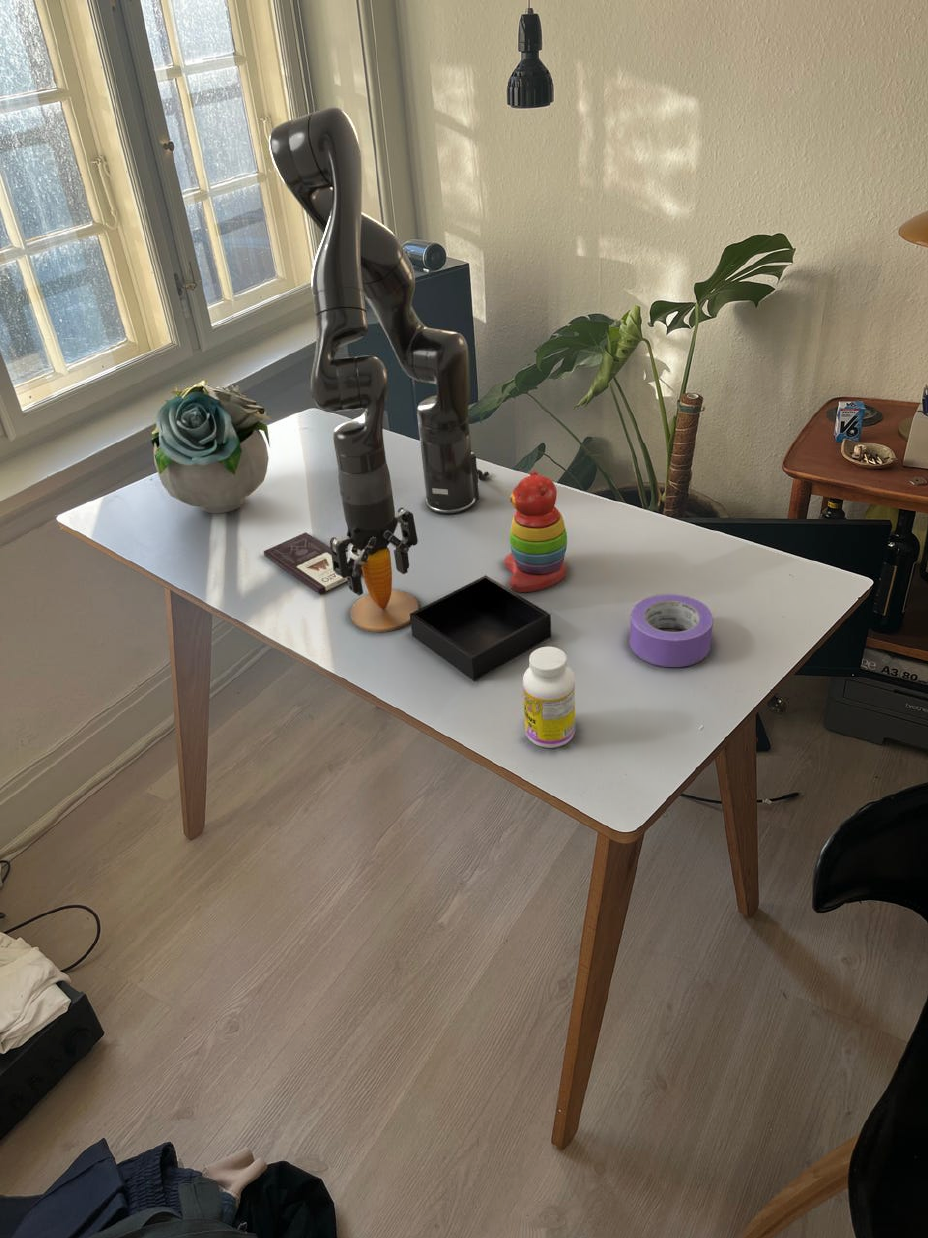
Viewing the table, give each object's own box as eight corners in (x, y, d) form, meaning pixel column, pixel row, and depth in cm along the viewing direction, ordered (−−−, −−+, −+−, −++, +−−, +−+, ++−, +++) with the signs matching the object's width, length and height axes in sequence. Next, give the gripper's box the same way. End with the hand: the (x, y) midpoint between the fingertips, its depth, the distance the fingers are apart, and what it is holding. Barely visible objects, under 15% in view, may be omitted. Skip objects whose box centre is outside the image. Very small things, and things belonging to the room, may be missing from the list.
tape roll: (646, 612, 142) (648, 585, 139) (721, 631, 137) (724, 604, 134) (617, 655, 134) (618, 627, 131) (694, 677, 129) (697, 649, 126)
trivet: (393, 584, 154) (392, 582, 154) (432, 612, 147) (432, 608, 146) (337, 611, 149) (337, 608, 148) (375, 641, 142) (375, 638, 141)
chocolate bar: (305, 532, 169) (362, 568, 157) (306, 536, 169) (362, 572, 158) (263, 551, 164) (318, 589, 152) (264, 555, 165) (319, 594, 153)
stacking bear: (503, 559, 158) (497, 466, 147) (560, 552, 158) (559, 459, 148) (511, 594, 149) (506, 497, 139) (573, 587, 149) (572, 490, 139)
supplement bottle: (522, 719, 125) (518, 644, 117) (570, 713, 125) (569, 638, 117) (529, 753, 119) (525, 677, 112) (579, 747, 119) (579, 671, 112)
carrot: (375, 621, 145) (361, 539, 136) (363, 606, 148) (349, 525, 140) (403, 611, 146) (392, 530, 138) (391, 596, 150) (379, 516, 141)
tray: (487, 596, 149) (485, 574, 147) (551, 636, 139) (550, 614, 137) (412, 635, 142) (409, 613, 139) (473, 681, 132) (471, 658, 129)
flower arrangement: (311, 488, 185) (289, 372, 171) (223, 547, 168) (190, 423, 154) (223, 466, 197) (195, 355, 182) (133, 519, 180) (94, 401, 166)
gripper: (339, 516, 129) (355, 610, 139) (420, 482, 136) (430, 573, 145) (311, 499, 134) (329, 590, 144) (391, 466, 141) (403, 556, 150)
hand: (380, 582), depth 144 cm, fingers open, 8 cm apart
